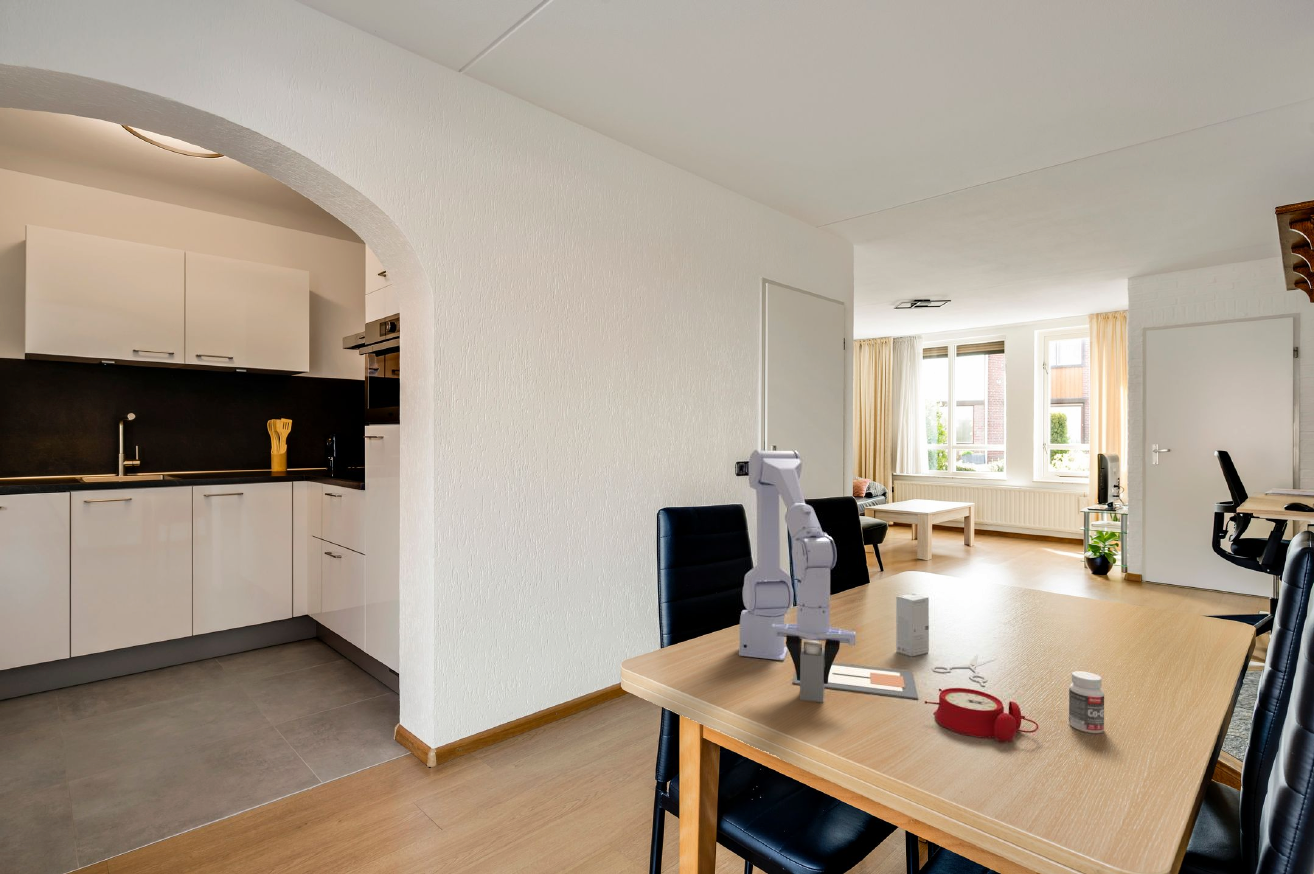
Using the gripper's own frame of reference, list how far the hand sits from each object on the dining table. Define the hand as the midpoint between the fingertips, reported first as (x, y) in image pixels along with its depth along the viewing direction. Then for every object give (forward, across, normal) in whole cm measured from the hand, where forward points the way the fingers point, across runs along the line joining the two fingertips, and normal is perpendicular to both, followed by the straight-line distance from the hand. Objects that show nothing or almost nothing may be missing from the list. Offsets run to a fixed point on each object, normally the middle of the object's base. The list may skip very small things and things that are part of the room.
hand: (812, 680), depth 115 cm
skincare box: (+3, +19, +33) cm, 38 cm away
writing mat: (+3, +7, +12) cm, 14 cm away
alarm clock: (+3, +27, -3) cm, 27 cm away
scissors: (+4, +30, +27) cm, 41 cm away
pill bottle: (+3, +43, +2) cm, 43 cm away
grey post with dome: (+3, 0, 0) cm, 3 cm away
